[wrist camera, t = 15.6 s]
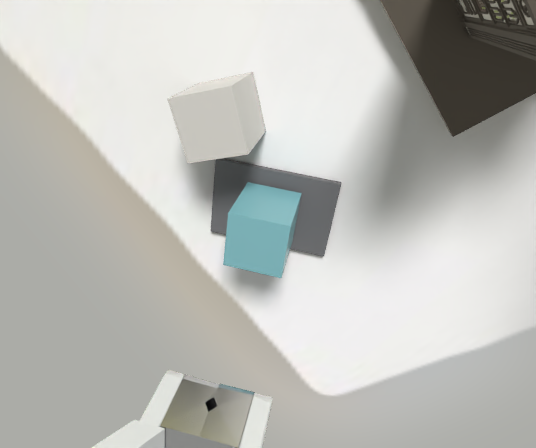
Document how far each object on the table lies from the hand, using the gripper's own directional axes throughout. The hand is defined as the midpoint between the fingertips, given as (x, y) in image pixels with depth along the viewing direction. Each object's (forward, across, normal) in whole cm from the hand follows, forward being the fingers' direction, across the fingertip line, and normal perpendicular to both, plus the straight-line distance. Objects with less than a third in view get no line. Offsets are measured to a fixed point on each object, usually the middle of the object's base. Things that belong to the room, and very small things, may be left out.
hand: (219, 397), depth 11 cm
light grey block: (+29, +8, 0) cm, 30 cm away
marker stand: (+29, +3, +9) cm, 31 cm away
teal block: (+28, +3, +9) cm, 30 cm away
